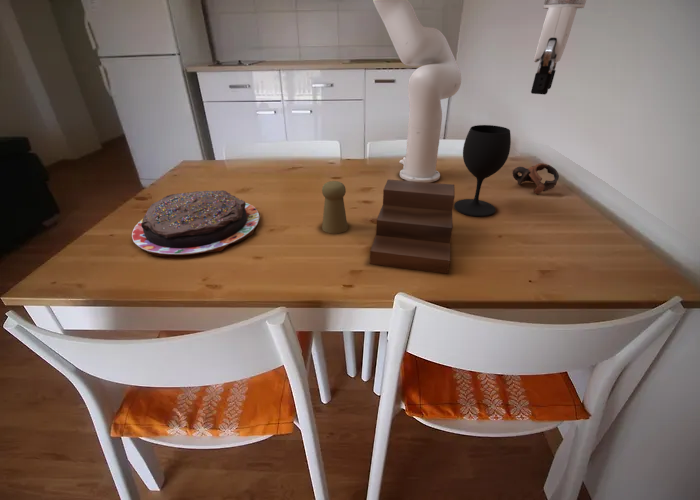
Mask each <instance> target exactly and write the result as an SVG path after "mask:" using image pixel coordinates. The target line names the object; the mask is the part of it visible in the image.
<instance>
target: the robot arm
mask: <svg viewBox="0 0 700 500" xmlns="http://www.w3.org/2000/svg"><path fill="white" fill-rule="evenodd" d="M372 2H373V5H374V7H375V9H376V11H377V13H378V15H379V17H380V19H381V20H382V23H383V25H384V26H385V29H386V31H387V34H388V36H389V38H390V41H391V44H392V45H393V48H394V49H395V52H396V54H397V56H398V58H399V61H401V63H402V64H403V65H405V66H407V67H417V68H416V69H415V70H414V71H413V72H412V74H411V75H410V77H409V80H408V83H407V84H408V85H407V95H408V107H409V108H408V123H407V124H408V126H407V140H406V152H405V156H403V158H402V159H400V160H399V164H400V165H403V166H402V167H403V168H401V170H400V171H399V177H400V178H401V179H403V181H415V182H428V183H435V182H437V181H439V180H440V179H441V173H440V172H439V171H438V170H437V162H438V154H439V146H440V138H441V131H442V121H443V109H442V104H441V100H445V99H448V98H451V97H453V96H454V95H455V94H457V92H458V91H459V89H460V87H461V84H462V73H461V70H460V67H459V65H458V62H457V60H456V58H455V56H454V54H453V51H452V49H451V46H450V44H449V42H448V40H447V37H446V36H445V35H444V34H443V32H441V30H440V29H438V28H436V27H431V26H423V24H422V23H421V21H420V20H419V18H418V16H417V13H416V11H415V9H414V6H413V4H412V3H411V2H410V1H409V0H372ZM586 3H587V0H544V2H543V6H542V9H545V10H547V11H546V15H545V16H544V21H543V25H542V27H541V32H540V35H539V40H538V42H537V47H536V50H535V54H534V57H533V61H534V63H538V62H539V64H538V67H537V70H536V73H535V75H534V78H533V83H532V87H531V91H530V93H531V94H532V95H533V94H534V95H544V96H545V95H547V94H548V92H549V90H550V89H551V88H552V85H553V82H554V78H555V75H556V71H557V70H556V68H557V67H556V66H557V63H558V62H560V61H561V59H562V56H563V54H564V51H565V50H566V46H567V43H568V40H569V38H570V34H571V31H572V27H573V25H574V20H575V16H576V14H577V10H578V9H585V5H586Z"/></svg>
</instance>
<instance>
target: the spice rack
mask: <svg viewBox="0 0 700 500" xmlns="http://www.w3.org/2000/svg"><path fill="white" fill-rule="evenodd" d="M382 194H383V195H382V206H381V207H380V211H379V213H378V215H377V218H376V225H375V226H376V227H375V228H376V229H375V230H376V231H375V237H374V240H373V243H372V245H371V247H370V250H369V264H370V265H376V266H384V267H392V268H400V269H406V270H407V269H408V270H415V271H423V272H431V273H439V274H449V269H450V263H451V240H452V235H453V233H452V232H453V208H454V204H455V195H456V193H455V184H452V183H440V182H439V183H438V182H429V183H428V182H415V181H407V180H401V179H390V178H388V179H387V180H386V183H385V185H384V187H383V193H382Z"/></svg>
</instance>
